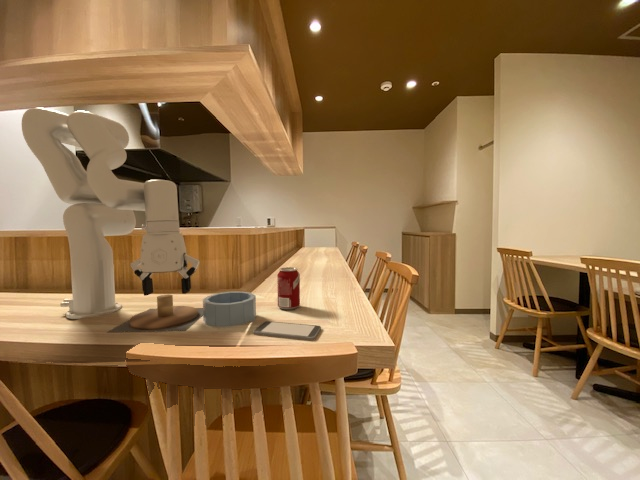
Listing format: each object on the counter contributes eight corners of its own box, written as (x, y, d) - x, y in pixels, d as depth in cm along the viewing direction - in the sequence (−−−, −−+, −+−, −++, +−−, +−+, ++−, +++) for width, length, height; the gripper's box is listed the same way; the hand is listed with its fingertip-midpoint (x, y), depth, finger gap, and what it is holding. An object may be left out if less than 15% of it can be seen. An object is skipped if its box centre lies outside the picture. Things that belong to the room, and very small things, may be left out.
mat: (106, 334, 64) (106, 332, 64) (150, 310, 82) (150, 308, 82) (185, 333, 65) (185, 330, 65) (211, 309, 83) (211, 307, 83)
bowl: (196, 329, 68) (195, 305, 67) (214, 312, 81) (213, 291, 80) (249, 328, 68) (249, 304, 68) (258, 311, 81) (258, 291, 81)
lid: (113, 330, 65) (112, 305, 65) (151, 309, 81) (150, 289, 81) (182, 329, 66) (182, 304, 66) (207, 308, 82) (206, 288, 82)
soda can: (289, 312, 80) (288, 271, 80) (273, 308, 85) (272, 269, 84) (304, 306, 86) (304, 268, 85) (288, 303, 90) (288, 266, 89)
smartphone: (265, 320, 72) (321, 325, 68) (265, 324, 72) (321, 330, 68) (251, 331, 65) (313, 337, 61) (251, 336, 65) (313, 342, 61)
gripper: (119, 230, 68) (124, 298, 69) (190, 227, 69) (195, 295, 70) (138, 229, 76) (142, 291, 77) (202, 227, 76) (205, 288, 77)
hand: (167, 293), depth 73 cm, fingers open, 9 cm apart
